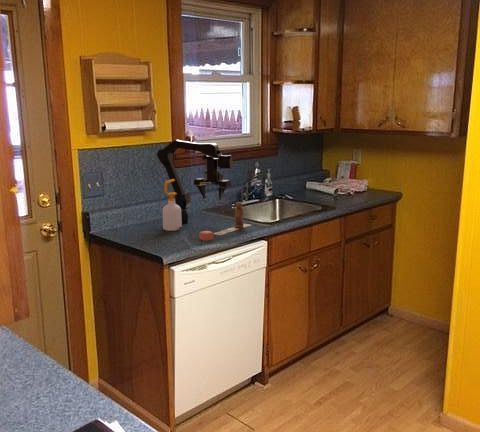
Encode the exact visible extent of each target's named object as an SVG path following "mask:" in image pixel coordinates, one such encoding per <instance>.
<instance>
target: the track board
mask: <svg viewBox="0 0 480 432" xmlns="http://www.w3.org/2000/svg"><path fill="white" fill-rule="evenodd" d="M246 227H251V224H247V223H243V228H235V227H234V226H233V227H230V228H226V229H223V230H219V231H216V232H213V235H217V236H222V235H225V234H228V233H231V232H234V231H239V230H241V229H244V228H246Z"/></svg>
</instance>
